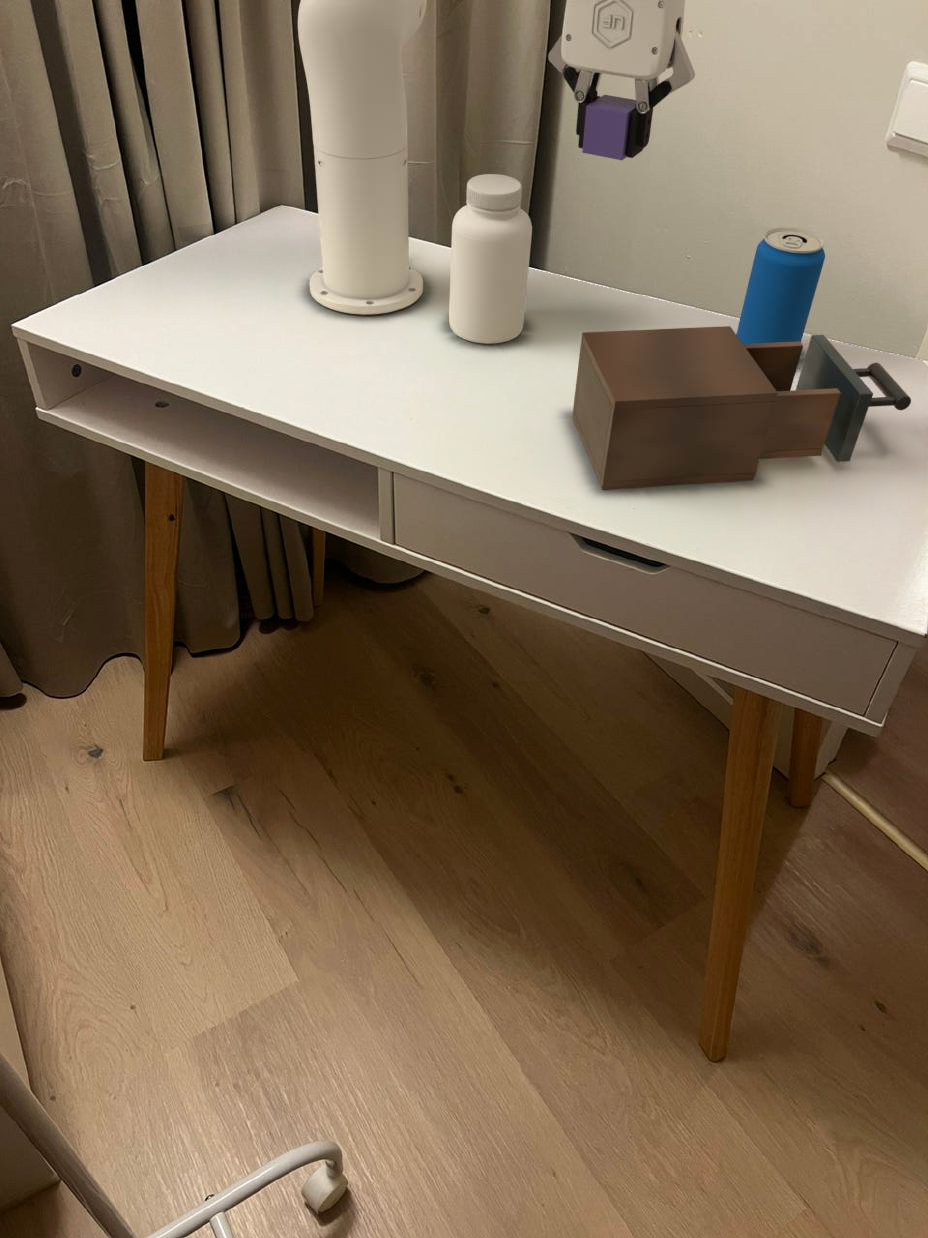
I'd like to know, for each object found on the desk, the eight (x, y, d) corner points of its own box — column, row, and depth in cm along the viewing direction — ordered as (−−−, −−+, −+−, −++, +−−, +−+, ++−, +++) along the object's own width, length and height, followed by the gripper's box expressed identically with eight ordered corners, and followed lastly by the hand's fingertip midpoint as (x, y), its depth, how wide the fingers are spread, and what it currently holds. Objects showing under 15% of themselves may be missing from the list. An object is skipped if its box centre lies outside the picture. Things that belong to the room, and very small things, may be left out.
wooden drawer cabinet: (711, 409, 95) (730, 325, 89) (753, 480, 86) (778, 392, 80) (571, 417, 93) (581, 331, 87) (601, 489, 85) (615, 401, 79)
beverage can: (801, 346, 104) (834, 233, 96) (789, 374, 100) (822, 258, 92) (741, 333, 106) (767, 220, 98) (726, 359, 102) (753, 244, 94)
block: (581, 152, 96) (586, 105, 93) (599, 140, 98) (604, 94, 95) (622, 160, 94) (627, 112, 91) (639, 147, 97) (645, 101, 94)
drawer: (856, 397, 95) (878, 331, 91) (906, 458, 88) (933, 390, 83) (678, 406, 93) (691, 339, 88) (713, 470, 86) (730, 400, 81)
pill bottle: (517, 350, 102) (528, 202, 92) (441, 340, 103) (443, 193, 93) (529, 315, 108) (541, 172, 97) (457, 306, 109) (461, 164, 98)
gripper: (526, -84, 84) (515, 144, 97) (716, -64, 78) (679, 177, 91) (564, -95, 89) (549, 123, 101) (746, -77, 83) (706, 153, 95)
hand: (611, 146), depth 96 cm, fingers closed on block, 4 cm apart
